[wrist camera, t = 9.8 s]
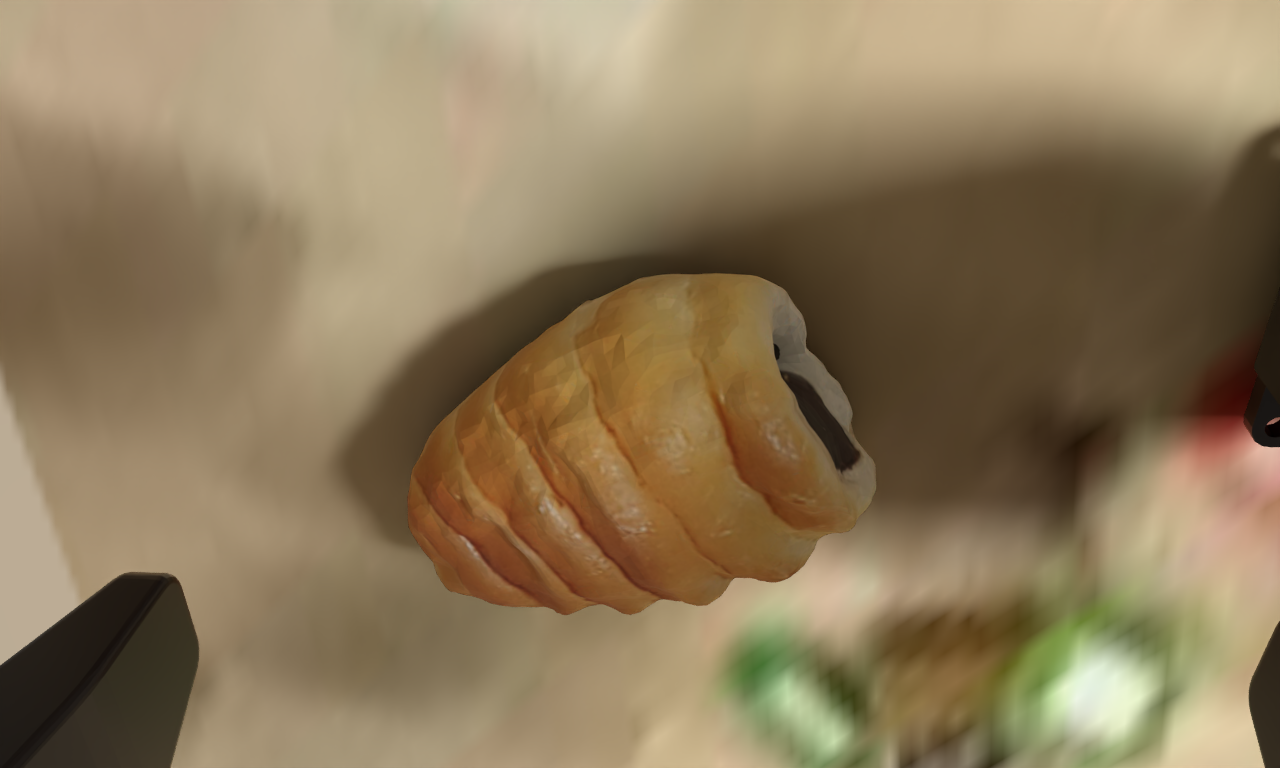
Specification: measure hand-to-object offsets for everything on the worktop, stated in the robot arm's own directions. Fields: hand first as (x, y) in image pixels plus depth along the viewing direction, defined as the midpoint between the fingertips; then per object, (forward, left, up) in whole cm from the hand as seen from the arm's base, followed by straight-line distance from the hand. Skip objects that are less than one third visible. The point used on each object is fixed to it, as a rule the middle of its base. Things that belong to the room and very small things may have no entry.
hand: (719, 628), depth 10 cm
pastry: (+4, +6, -14) cm, 16 cm away
